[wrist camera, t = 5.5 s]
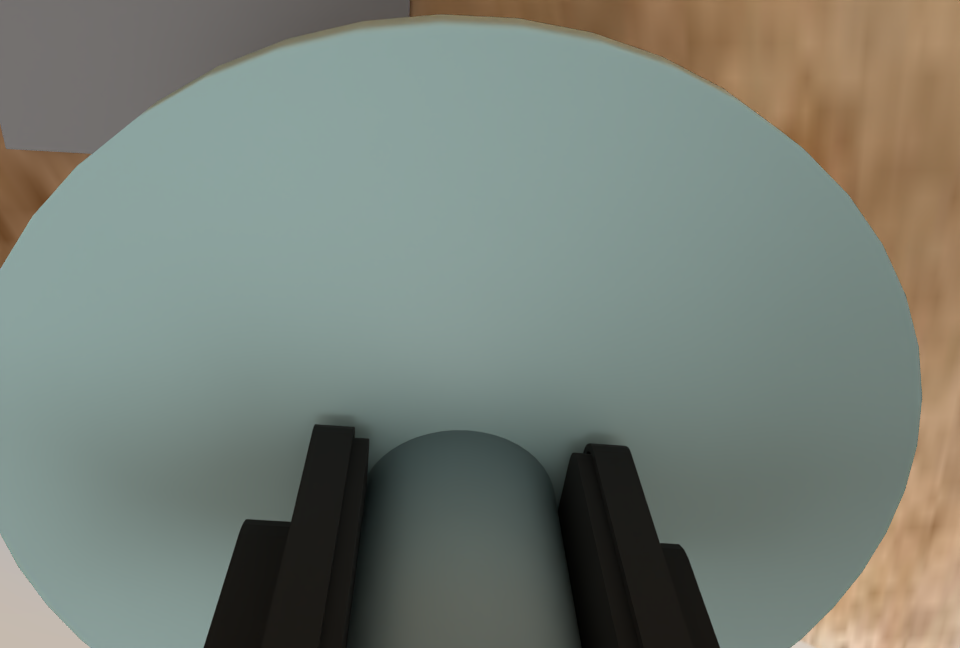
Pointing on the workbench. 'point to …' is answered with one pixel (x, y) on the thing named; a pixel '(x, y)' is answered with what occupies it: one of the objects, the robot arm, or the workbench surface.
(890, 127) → the workbench surface
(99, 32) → the mat
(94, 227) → the lid
